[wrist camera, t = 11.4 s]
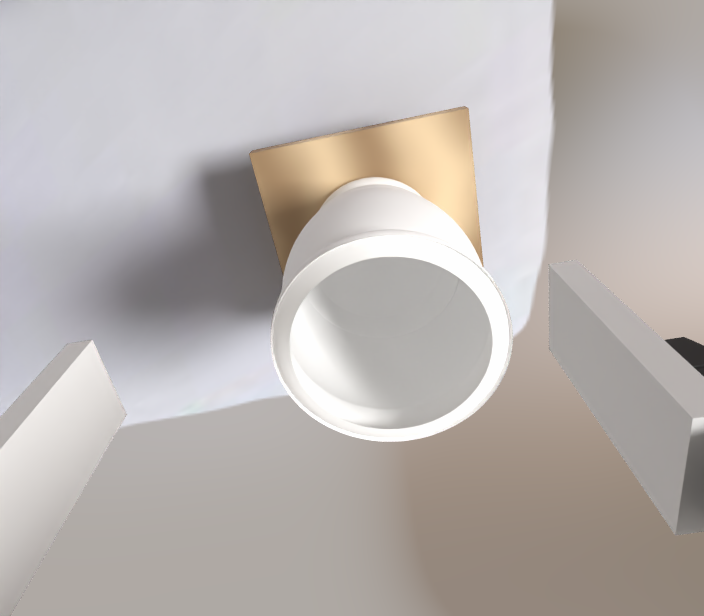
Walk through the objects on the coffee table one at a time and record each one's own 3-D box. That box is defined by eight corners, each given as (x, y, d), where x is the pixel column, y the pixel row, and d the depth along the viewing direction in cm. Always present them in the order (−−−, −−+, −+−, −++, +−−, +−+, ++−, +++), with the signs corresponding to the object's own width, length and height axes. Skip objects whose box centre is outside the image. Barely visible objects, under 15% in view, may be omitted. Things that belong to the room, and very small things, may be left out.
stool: (307, 300, 46) (301, 340, 40) (265, 136, 40) (249, 153, 34) (468, 271, 45) (487, 307, 39) (449, 97, 39) (468, 108, 32)
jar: (481, 205, 35) (564, 304, 22) (404, 327, 39) (434, 473, 26) (339, 129, 33) (333, 187, 20) (273, 266, 37) (231, 392, 24)
